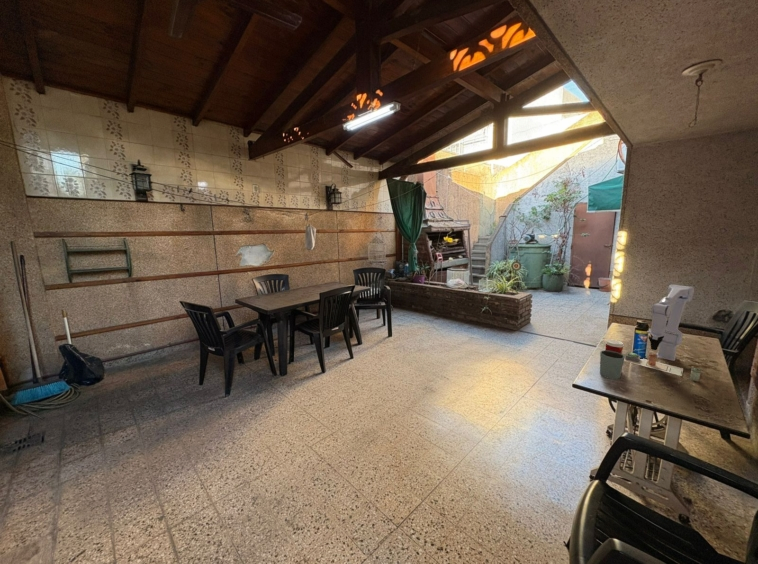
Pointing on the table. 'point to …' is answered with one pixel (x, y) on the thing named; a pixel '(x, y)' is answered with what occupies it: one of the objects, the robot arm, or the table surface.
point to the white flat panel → (659, 366)
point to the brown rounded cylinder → (652, 359)
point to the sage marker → (695, 374)
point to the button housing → (633, 358)
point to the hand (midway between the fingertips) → (654, 348)
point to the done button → (633, 355)
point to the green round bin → (611, 364)
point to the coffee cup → (614, 346)
